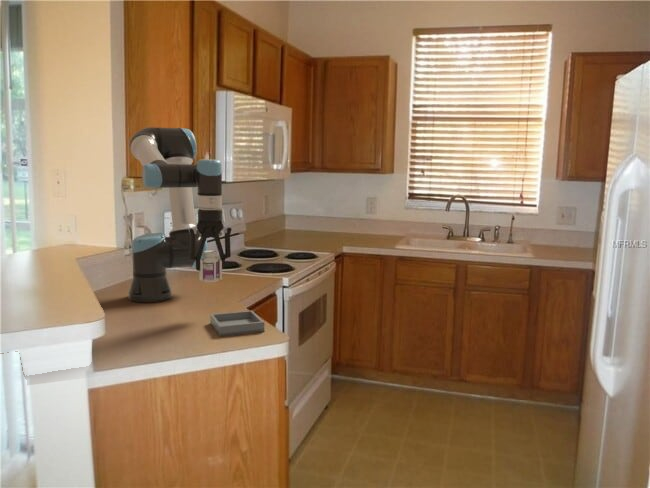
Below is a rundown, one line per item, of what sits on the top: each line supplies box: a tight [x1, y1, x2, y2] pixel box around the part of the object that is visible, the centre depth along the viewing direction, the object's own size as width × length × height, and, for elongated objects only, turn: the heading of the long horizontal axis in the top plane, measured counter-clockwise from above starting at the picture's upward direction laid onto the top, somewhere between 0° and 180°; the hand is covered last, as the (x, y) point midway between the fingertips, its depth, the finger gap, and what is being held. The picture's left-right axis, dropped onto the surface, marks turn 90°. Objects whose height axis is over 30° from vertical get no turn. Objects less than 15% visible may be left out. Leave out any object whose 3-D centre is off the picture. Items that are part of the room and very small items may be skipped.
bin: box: [209, 310, 265, 337], centre depth 173 cm, size 14×14×3 cm
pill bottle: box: [202, 250, 220, 283], centre depth 182 cm, size 5×5×10 cm
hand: (210, 279), depth 183 cm, fingers closed on pill bottle, 5 cm apart
